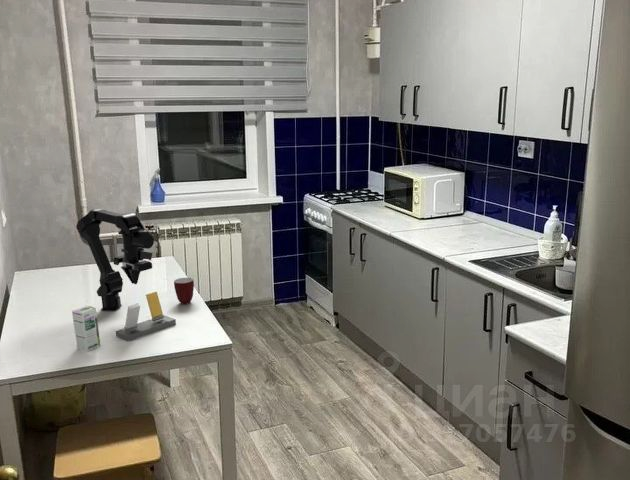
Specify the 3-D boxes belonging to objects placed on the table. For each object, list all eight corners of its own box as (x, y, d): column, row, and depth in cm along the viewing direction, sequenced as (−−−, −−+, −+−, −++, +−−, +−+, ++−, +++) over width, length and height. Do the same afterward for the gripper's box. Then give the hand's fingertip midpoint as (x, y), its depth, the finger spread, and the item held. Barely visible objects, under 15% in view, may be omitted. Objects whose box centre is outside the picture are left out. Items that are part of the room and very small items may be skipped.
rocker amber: (152, 321, 230) (145, 294, 230) (162, 318, 234) (154, 291, 233) (154, 321, 229) (147, 294, 229) (164, 318, 233) (157, 291, 232)
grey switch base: (128, 341, 218) (127, 335, 217) (116, 336, 223) (115, 330, 222) (175, 324, 233) (175, 318, 233) (163, 319, 238) (162, 314, 238)
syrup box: (87, 352, 210) (82, 312, 206) (76, 348, 213) (71, 309, 209) (100, 346, 214) (96, 307, 211) (90, 343, 217) (85, 304, 214)
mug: (196, 306, 252) (194, 283, 250) (176, 309, 250) (174, 285, 248) (194, 298, 262) (192, 276, 260) (175, 301, 260) (173, 278, 258)
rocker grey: (124, 329, 222) (127, 306, 217) (134, 326, 225) (138, 303, 220) (126, 332, 221) (130, 308, 216) (136, 328, 224) (140, 305, 219)
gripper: (162, 245, 238) (165, 282, 242) (134, 238, 250) (138, 274, 254) (137, 250, 230) (141, 290, 234) (110, 244, 242) (114, 281, 246)
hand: (134, 283), depth 242 cm, fingers closed
